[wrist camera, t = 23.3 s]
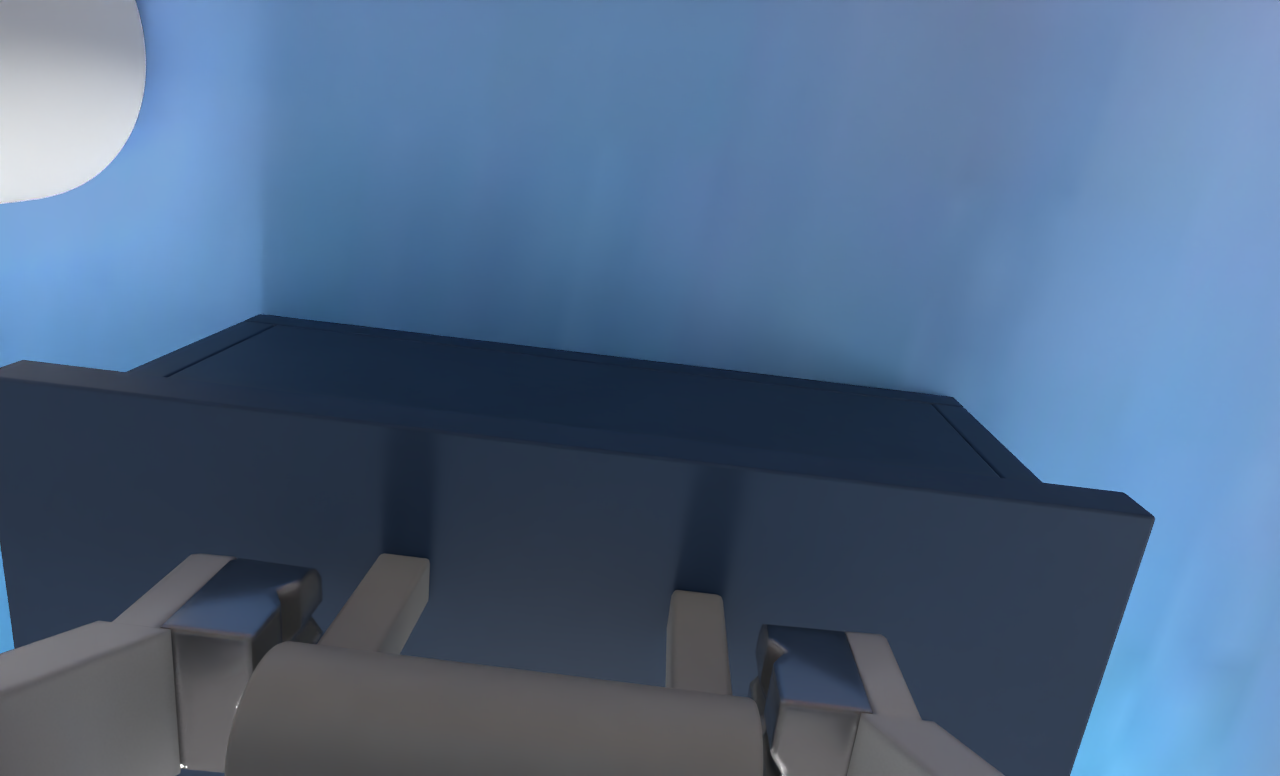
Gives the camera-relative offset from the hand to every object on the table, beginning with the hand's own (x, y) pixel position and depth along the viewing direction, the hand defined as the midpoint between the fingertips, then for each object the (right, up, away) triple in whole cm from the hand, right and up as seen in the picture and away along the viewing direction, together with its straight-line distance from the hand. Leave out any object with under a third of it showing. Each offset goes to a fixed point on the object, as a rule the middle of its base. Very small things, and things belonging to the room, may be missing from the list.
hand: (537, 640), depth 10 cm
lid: (0, -4, +3) cm, 5 cm away
